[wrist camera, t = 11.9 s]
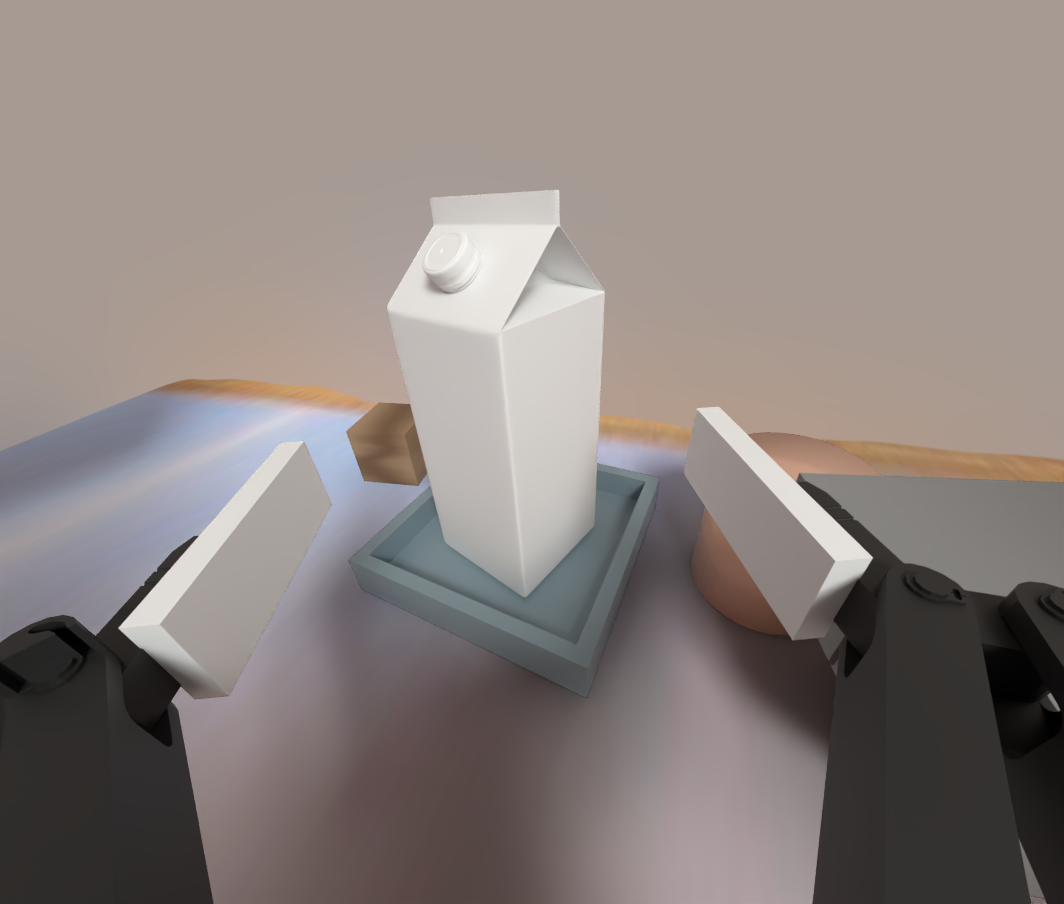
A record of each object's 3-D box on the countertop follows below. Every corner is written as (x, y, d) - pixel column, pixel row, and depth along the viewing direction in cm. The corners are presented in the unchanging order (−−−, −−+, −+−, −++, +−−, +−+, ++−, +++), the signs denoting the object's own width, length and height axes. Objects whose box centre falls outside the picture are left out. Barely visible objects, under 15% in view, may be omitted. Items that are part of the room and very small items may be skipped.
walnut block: (364, 481, 34) (346, 431, 31) (392, 449, 38) (378, 402, 35) (418, 486, 33) (404, 435, 30) (441, 453, 37) (431, 405, 34)
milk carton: (515, 488, 30) (486, 193, 20) (595, 528, 26) (611, 186, 16) (444, 543, 26) (357, 202, 15) (525, 601, 22) (484, 195, 12)
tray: (361, 588, 24) (348, 560, 23) (487, 462, 35) (484, 437, 34) (586, 697, 18) (587, 668, 17) (655, 505, 29) (660, 477, 28)
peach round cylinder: (675, 594, 23) (700, 488, 18) (708, 520, 27) (735, 420, 23) (818, 661, 19) (894, 550, 15) (829, 563, 24) (890, 455, 19)
